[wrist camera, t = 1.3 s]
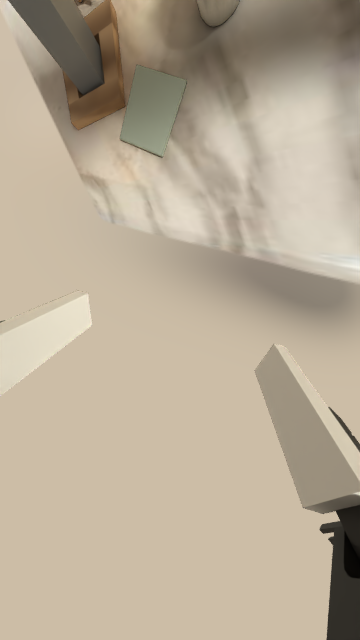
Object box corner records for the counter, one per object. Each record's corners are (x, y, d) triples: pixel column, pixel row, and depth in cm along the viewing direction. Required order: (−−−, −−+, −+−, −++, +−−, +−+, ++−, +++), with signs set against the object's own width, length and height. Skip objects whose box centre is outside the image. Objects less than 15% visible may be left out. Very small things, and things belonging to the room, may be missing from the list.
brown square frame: (65, 51, 29) (57, 39, 27) (116, 12, 25) (109, -3, 23) (78, 130, 31) (71, 123, 30) (125, 106, 28) (119, 97, 26)
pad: (138, 67, 26) (136, 64, 25) (186, 82, 24) (186, 79, 24) (121, 140, 29) (119, 138, 29) (162, 157, 28) (161, 155, 27)
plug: (82, 67, 28) (-28, -94, 16) (103, 53, 27) (-2, -137, 15) (87, 101, 30) (-12, -25, 17) (107, 90, 28) (13, -58, 16)
